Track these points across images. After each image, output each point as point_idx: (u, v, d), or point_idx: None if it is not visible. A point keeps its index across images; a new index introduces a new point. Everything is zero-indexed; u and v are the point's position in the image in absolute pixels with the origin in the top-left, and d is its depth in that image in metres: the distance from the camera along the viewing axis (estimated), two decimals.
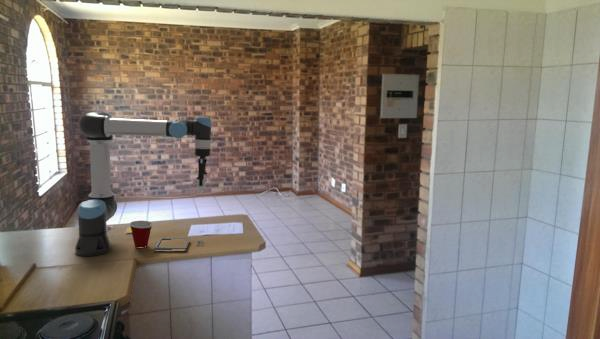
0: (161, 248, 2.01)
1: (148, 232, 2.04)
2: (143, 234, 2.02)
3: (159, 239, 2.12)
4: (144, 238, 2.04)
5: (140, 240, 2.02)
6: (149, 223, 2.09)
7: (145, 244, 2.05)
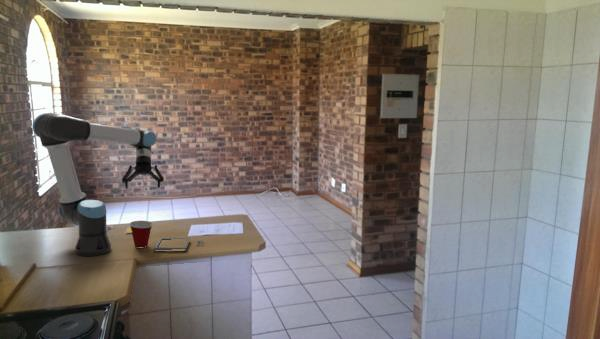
0: (161, 248, 2.01)
1: (148, 232, 2.04)
2: (143, 234, 2.02)
3: (159, 239, 2.12)
4: (144, 238, 2.04)
5: (140, 240, 2.02)
6: (149, 223, 2.09)
7: (145, 244, 2.05)
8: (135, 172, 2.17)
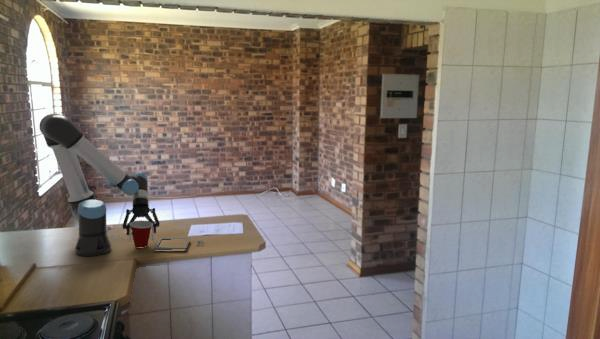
0: (161, 248, 2.01)
1: (148, 232, 2.04)
2: (143, 234, 2.02)
3: (159, 239, 2.12)
4: (144, 238, 2.04)
5: (140, 240, 2.02)
6: (149, 223, 2.09)
7: (145, 244, 2.05)
8: (134, 216, 2.08)
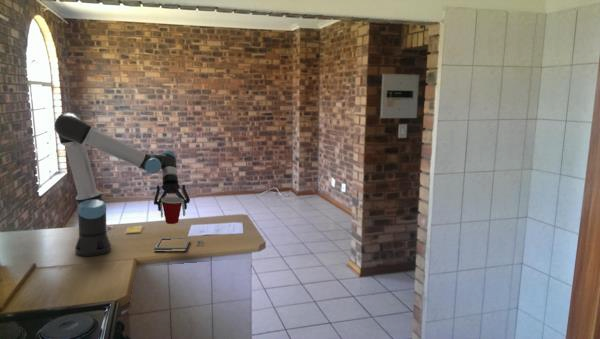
0: (161, 248, 2.01)
1: (179, 208, 2.04)
2: (174, 209, 2.02)
3: (159, 239, 2.12)
4: (176, 214, 2.04)
5: (171, 215, 2.02)
6: (179, 199, 2.09)
7: (176, 220, 2.05)
8: (165, 192, 2.08)
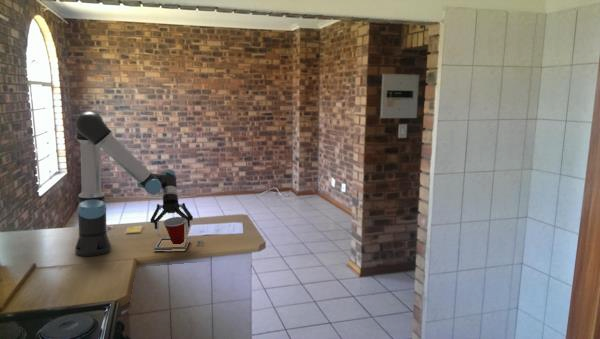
0: (161, 248, 2.01)
1: (183, 228, 2.08)
2: (178, 231, 2.06)
3: (159, 239, 2.12)
4: (180, 234, 2.07)
5: (176, 237, 2.06)
6: (182, 219, 2.12)
7: (182, 240, 2.09)
8: (163, 211, 2.09)
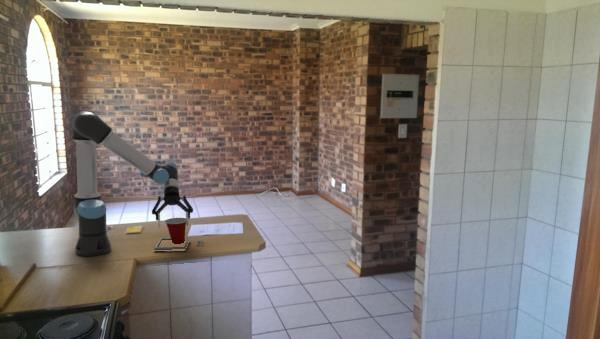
0: (161, 248, 2.01)
1: (184, 227, 2.09)
2: (179, 229, 2.07)
3: (159, 239, 2.12)
4: (181, 234, 2.08)
5: (177, 235, 2.07)
6: (183, 219, 2.14)
7: (182, 239, 2.09)
8: (165, 203, 2.14)
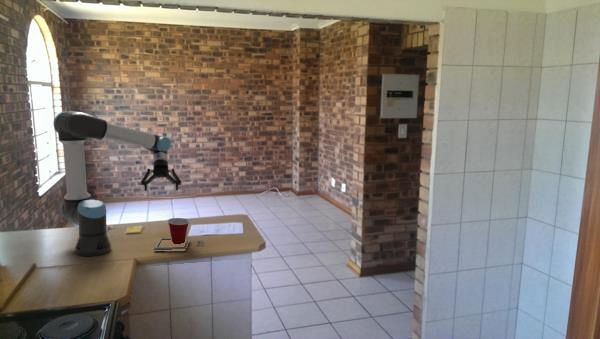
0: (161, 248, 2.01)
1: (186, 228, 2.09)
2: (181, 230, 2.07)
3: (159, 239, 2.12)
4: (182, 235, 2.08)
5: (178, 236, 2.07)
6: (185, 220, 2.14)
7: (183, 240, 2.10)
8: (153, 175, 2.22)
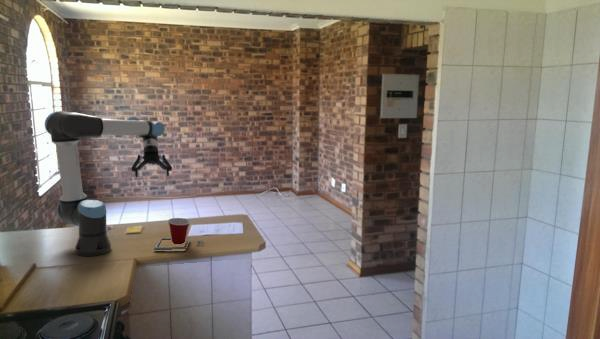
0: (161, 248, 2.01)
1: (186, 229, 2.09)
2: (182, 231, 2.07)
3: (159, 239, 2.12)
4: (182, 235, 2.08)
5: (178, 236, 2.07)
6: (186, 220, 2.14)
7: (183, 241, 2.10)
8: (144, 161, 2.22)
